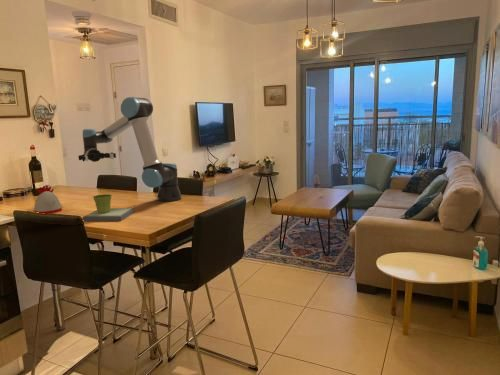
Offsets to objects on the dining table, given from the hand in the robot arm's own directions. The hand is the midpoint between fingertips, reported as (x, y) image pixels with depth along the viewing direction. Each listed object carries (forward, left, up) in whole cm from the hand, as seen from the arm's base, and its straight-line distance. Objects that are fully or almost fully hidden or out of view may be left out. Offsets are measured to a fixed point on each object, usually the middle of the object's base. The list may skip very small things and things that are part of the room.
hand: (100, 157), depth 207 cm
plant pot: (-7, +17, -28) cm, 33 cm away
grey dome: (+32, +3, -30) cm, 44 cm away
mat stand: (-10, +16, -30) cm, 35 cm away
